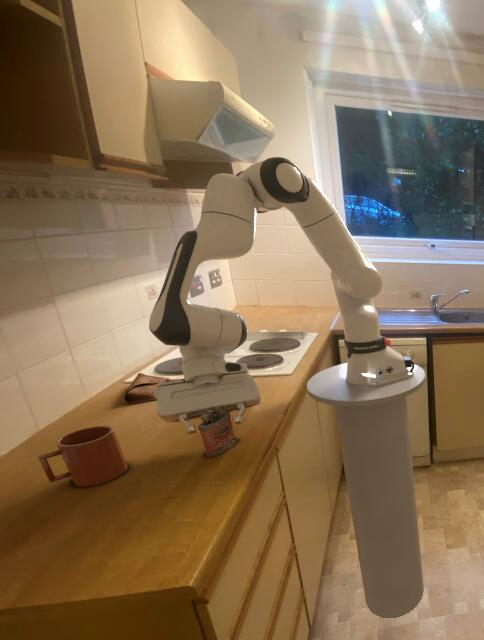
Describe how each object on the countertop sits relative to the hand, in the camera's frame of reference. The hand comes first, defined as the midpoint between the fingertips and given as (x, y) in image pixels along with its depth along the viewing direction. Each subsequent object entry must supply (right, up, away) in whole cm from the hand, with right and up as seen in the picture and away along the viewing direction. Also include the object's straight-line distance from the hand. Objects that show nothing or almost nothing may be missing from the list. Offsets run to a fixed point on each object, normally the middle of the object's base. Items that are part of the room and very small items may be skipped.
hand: (216, 428), depth 101 cm
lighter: (0, -5, +3) cm, 6 cm away
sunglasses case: (-43, +8, +33) cm, 55 cm away
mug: (-20, -10, -9) cm, 24 cm away
